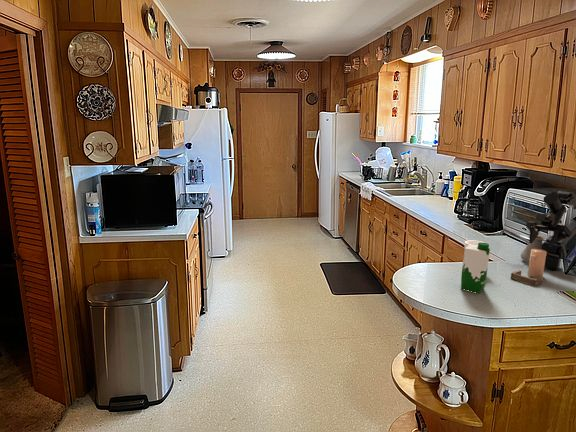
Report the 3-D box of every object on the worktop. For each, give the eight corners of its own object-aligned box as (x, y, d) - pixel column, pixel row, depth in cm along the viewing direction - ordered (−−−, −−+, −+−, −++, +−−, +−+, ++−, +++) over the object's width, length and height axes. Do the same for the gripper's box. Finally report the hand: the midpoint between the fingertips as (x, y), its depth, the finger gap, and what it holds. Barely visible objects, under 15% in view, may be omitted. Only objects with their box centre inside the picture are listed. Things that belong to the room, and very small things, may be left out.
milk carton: (480, 295, 172) (486, 247, 168) (457, 289, 178) (463, 243, 173) (486, 289, 179) (493, 242, 174) (464, 283, 185) (469, 238, 180)
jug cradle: (518, 274, 195) (519, 269, 195) (542, 281, 188) (542, 276, 187) (510, 278, 191) (511, 273, 190) (534, 285, 183) (535, 280, 183)
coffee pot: (546, 261, 215) (551, 232, 211) (546, 268, 205) (551, 237, 201) (498, 253, 225) (502, 225, 222) (496, 259, 215) (500, 230, 212)
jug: (531, 272, 198) (534, 247, 196) (545, 276, 194) (549, 251, 191) (522, 276, 193) (526, 251, 191) (536, 280, 189) (540, 254, 186)
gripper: (526, 204, 201) (511, 232, 199) (565, 207, 184) (549, 238, 182) (539, 217, 205) (524, 245, 203) (578, 221, 188) (563, 251, 186)
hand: (539, 244), depth 193 cm, fingers open, 9 cm apart
